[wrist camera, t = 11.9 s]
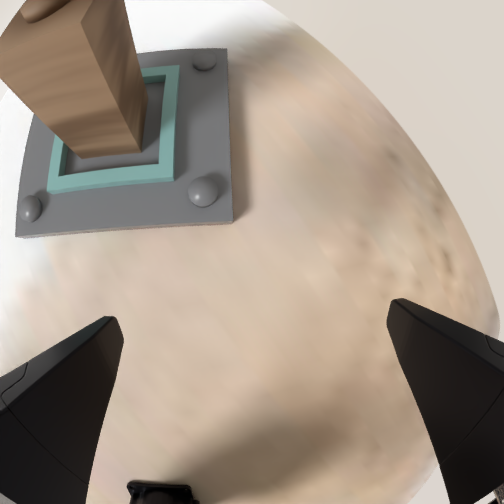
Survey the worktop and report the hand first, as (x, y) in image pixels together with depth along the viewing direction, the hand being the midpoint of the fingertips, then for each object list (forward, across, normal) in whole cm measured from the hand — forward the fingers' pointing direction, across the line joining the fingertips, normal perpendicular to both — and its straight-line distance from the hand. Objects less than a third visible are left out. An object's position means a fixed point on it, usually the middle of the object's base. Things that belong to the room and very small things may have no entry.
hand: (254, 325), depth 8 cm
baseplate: (+15, +10, -7) cm, 20 cm away
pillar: (+14, +10, -8) cm, 19 cm away
